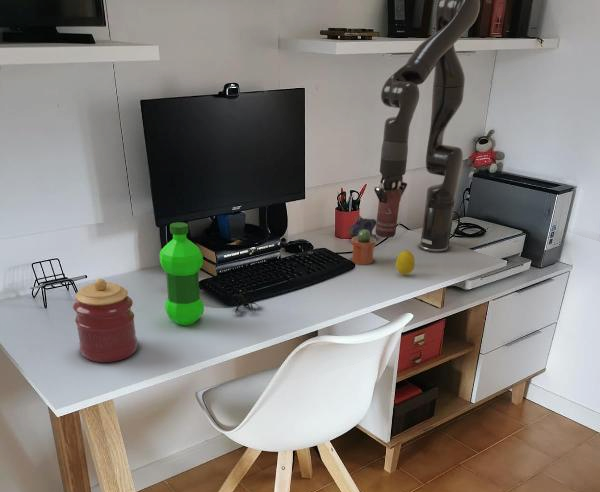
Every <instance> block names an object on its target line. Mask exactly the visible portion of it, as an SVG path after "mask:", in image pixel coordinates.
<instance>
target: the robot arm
mask: <svg viewBox="0 0 600 492" xmlns="http://www.w3.org/2000/svg"><path fill="white" fill-rule="evenodd" d="M480 8H481V0H437V1H436V6H435V18H434V19H435V20H434V21H435V22H434V23H435V27H434V28H435V33H433V34H432V35H431V36H429V37H428V38H426V39H425V40H424V41H422V42H421V43H420V44H419V45H418V46H417V47H416V48H415V49H414V51H413V52H412V53H411V55H410V57H408V60H407V61H406V62H405V64H404V65H403V66H401V67H400V68H399V69H397V70H396V71H395V72H394V73H393V74H392V75H390V76H389V77H388V78H387V80H386V81H385V82H384V84H383V86H382V88H381V92H380V99H381V102H382V103H383V105H385V106H386V107H389V108H394V109H399V110H398V112H397V115H396V116H390V117H388V118H386V120H385V122H384V127H383V138H382V145H381V150H380V151H381V152H380V164H379V173H380V175H381V178H380V181H379V182H380V184H379V186H375V187H374V193H375V195H376V196H377V199H378V202H379V201H380V202H383V203H385V204H386V203H387V197H386V194H385V190H386V191H388V190H392V191H394V190H395V189H396V190H397V189H401V191H402V193H401V197H403V195H404V192H405V191H406V189H407V186H408V183H407V182H406V181H405V182H404V176H405V175H406V172H407V162H408V152H409V135H410V126H411V123H412V120H413V117H414V114H415V112H416V110H417V106H418V104H419V100H420V89H419V85H421V84H423V83H424V82H425V81H426V80H427V79H428V78H429V76H430V75H431V73H432V72H433V70H434V74H433V81H432V83H433V84H432V97H431V100H432V101H431V102H432V103H431V114H430V115H431V116H430V117H431V118H430V127H429V132H428V133H429V135H428V141H427V147H426V155H425V169H426V171H427V172H428V173H429V174H431V175H436V176H440V177H441V176H442V177H444V178H443V181H442V182H441V183H438V184H432V185H430V186H428V187H427V191H426V197H425V205H424V213H423V221H422V228H421V235H420V236H421V237H420V243H419V247H420V248H421V249H422V250H424V251H428V252H434V253H440V252H446V251H448V248H449V247H450V241H451V234H452V227H453V215H454V214H453V213H454V206H455V201H456V200H455V199H456V193H457V190H458V187H459V183H460V182H459V181H460V177H461V171H462V166H463V161H464V152H463V150H462V148H461V147H458V146H453V145H447V144H444V143H443V142H444V136H445V132H446V129H447V127H448V125H449V123H450V122H451V120H452V119H453V118H454V116H455V115H456V114H457V112H458V110H460V107H461V106H462V104H463V102H464V101H463V100H464V93H465V84H466V83H465V82H466V77H465V72H464V69H463V66H462V64H461V61H460V58H459V56H458V54H457V51H456V48H455V44H456V43H457V41H459V40H460V39H461V37H462V36H463V35H464V34H466V32H468V30H469V29H470V28H471V27H472V26H473V24H475V22H476V20H477V18H478V16H479V13H480ZM381 199H383V200H384V201H382V200H381Z"/></svg>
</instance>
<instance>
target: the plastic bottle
mask: <svg viewBox="0 0 600 492" xmlns="http://www.w3.org/2000/svg"><path fill="white" fill-rule="evenodd" d="M169 232H170V234H171V235H172V239H170V240H169V242H168V243H166V245H164V246H163V248H161V249H160V251H159V255H158V257H159V262H160V266H161V268H162V270H163V271H164V272H165V276H166V277H165V278H166V289H167V298H166V301H165V303H164V310H165V312H166V314H167V316H168V318H169V320H171V321H173V322H174V323H175V324H177V325H180V326H191V325H193V324H195V323H196V321H197V320H199V319H200V318H201V317H202V315H203V314H204V311H205V305H204V303H203V300H202V299H201V295H200V279H199V271H200V269H201V268H202V267H203V264H204V256H203V253H202V251H201V249H200V248H199V247H198V246H197V245H196V244H195V243H194V242H192V241H191V240H189V238H188V237H187V234H189V224H188V223H187V222H184V221H183V222H181V221H180V222H172V223H170V224H169Z"/></svg>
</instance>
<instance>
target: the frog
mask: <svg viewBox="0 0 600 492" xmlns="http://www.w3.org/2000/svg"><path fill="white" fill-rule="evenodd" d="M358 221H359V222H358ZM376 222H377V219H375V218H363V217H360V219H359V218H358V217H357V219H356V222H354V223H353V224H354V225H353V224H352V225H353V226H352V227H350V228H348V230H349V232H348V234H349V236H350V237H351V238H353V237H356V236H358V234H359V232H360V231H361V230H364V229H365V230H368V231H369V232H370V234H371V237H372V238H375V239H376V240H377V235H376V234H373V230H374V229H375V228H376Z"/></svg>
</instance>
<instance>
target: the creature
mask: <svg viewBox="0 0 600 492" xmlns="http://www.w3.org/2000/svg"><path fill="white" fill-rule="evenodd" d="M246 289H247V288H246V287H245V288H244V290H243V291H242V292H241V293H240V294H239V295H237V297H235V296H234V295H233V294H231V293H230V292H229V293H227V294H228V295H230V296H231V298H232V299H233V300H234V301H235V302H236V308H235V314H236V315H237V316H239V317H242V315H243V314H244V311H241V312H240V311H239V308H240V307H241V306H243V307H244V308H248V310H249V311H251V312H252V313H254V312H255V313H257V312H256V310H260V308H258V309H256V308H254V307H253V304H254V305H256V306H258V303H256V302H253V301H252V299H251V298H252V296H251V295H250V296H249V295H247V296H246V297H245V296H243V294H244V293H245V291H246ZM246 298H248V299H246ZM247 300H248V301H247ZM237 311H238V312H240V313H241V314H238V313H237Z"/></svg>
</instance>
